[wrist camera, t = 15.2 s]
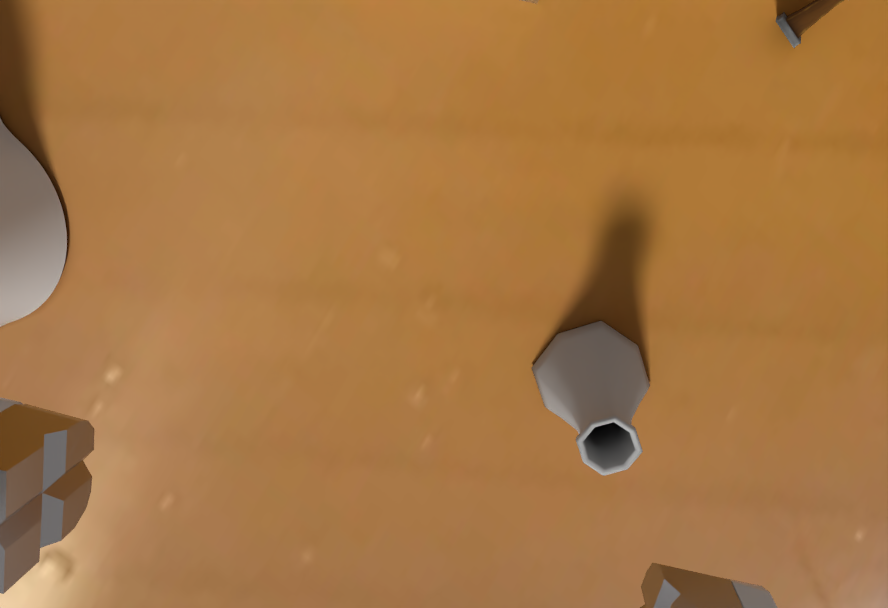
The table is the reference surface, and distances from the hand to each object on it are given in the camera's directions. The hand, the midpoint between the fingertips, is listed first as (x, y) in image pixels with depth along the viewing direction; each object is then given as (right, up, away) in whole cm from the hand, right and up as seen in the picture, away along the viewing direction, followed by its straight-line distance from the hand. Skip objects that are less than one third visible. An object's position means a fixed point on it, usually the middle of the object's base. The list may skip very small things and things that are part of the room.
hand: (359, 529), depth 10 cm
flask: (+11, -1, +35) cm, 37 cm away
